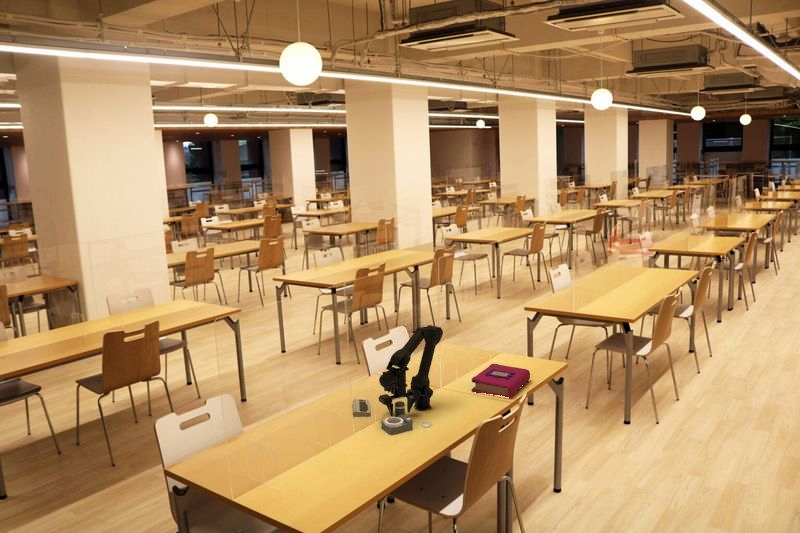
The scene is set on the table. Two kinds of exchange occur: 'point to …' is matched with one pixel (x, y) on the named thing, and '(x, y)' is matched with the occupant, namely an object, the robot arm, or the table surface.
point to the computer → (361, 408)
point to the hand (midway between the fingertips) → (399, 414)
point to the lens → (399, 408)
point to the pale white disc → (426, 424)
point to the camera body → (397, 424)
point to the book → (500, 380)
